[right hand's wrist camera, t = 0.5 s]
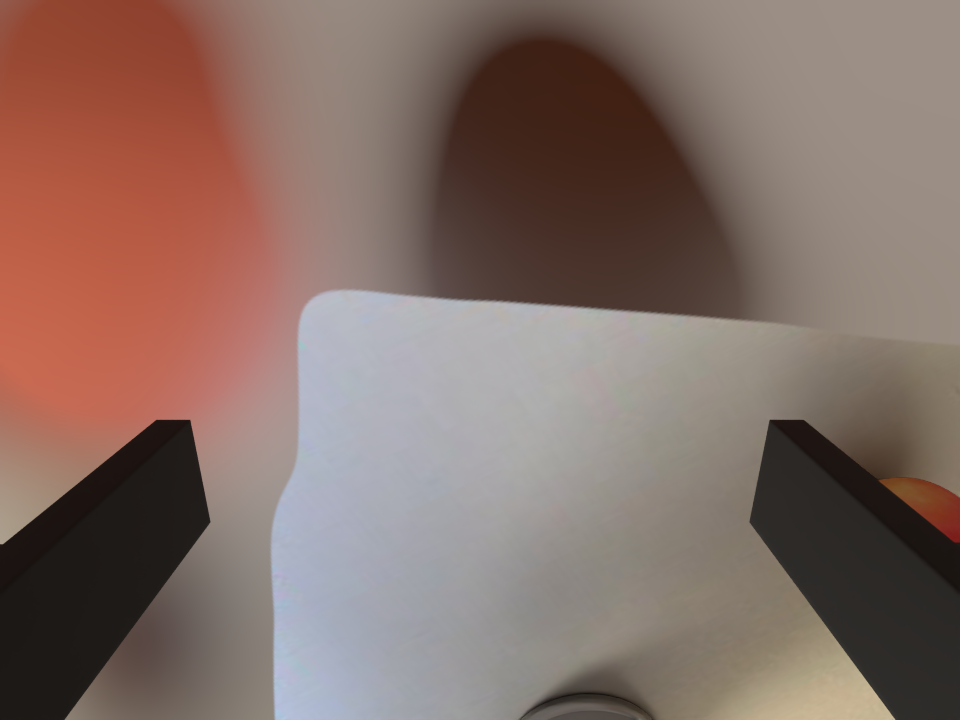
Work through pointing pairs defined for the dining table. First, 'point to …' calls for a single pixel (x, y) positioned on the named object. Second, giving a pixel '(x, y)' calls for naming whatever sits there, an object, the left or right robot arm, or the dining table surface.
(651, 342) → the dining table surface
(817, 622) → the dining table surface
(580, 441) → the dining table surface
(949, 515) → the apple
